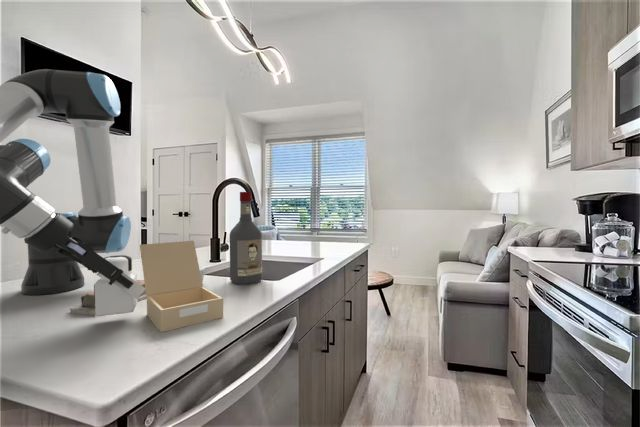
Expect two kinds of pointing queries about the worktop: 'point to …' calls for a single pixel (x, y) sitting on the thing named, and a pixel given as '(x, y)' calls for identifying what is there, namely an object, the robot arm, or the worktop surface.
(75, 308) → the packaged product
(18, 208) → the robot arm
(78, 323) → the worktop surface
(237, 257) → the liquor
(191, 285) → the mailer
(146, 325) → the worktop surface
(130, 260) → the medicine bottle
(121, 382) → the worktop surface
